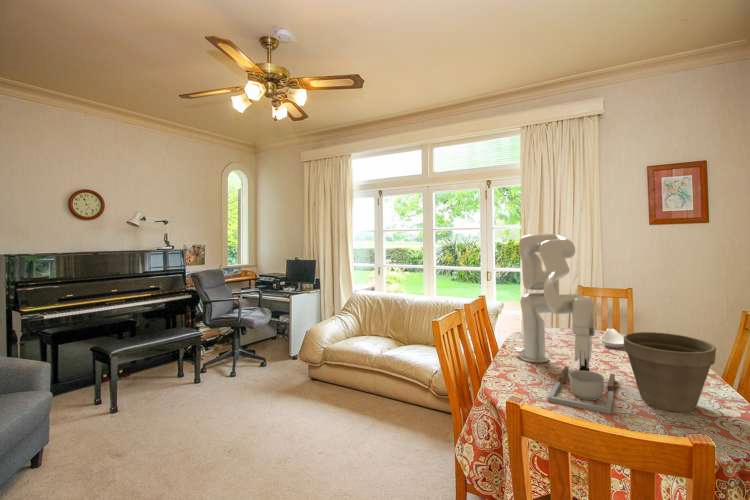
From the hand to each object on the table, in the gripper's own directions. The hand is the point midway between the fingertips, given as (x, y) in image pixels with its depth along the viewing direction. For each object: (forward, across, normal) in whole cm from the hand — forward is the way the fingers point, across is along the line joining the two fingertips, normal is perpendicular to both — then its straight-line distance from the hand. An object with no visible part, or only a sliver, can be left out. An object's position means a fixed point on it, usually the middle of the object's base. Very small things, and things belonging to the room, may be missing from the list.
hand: (584, 378), depth 141 cm
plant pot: (+4, 0, +25) cm, 25 cm away
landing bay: (+4, +10, 0) cm, 11 cm away
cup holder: (+4, -8, 0) cm, 9 cm away
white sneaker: (+5, -76, +6) cm, 76 cm away
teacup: (+4, +7, 0) cm, 8 cm away
